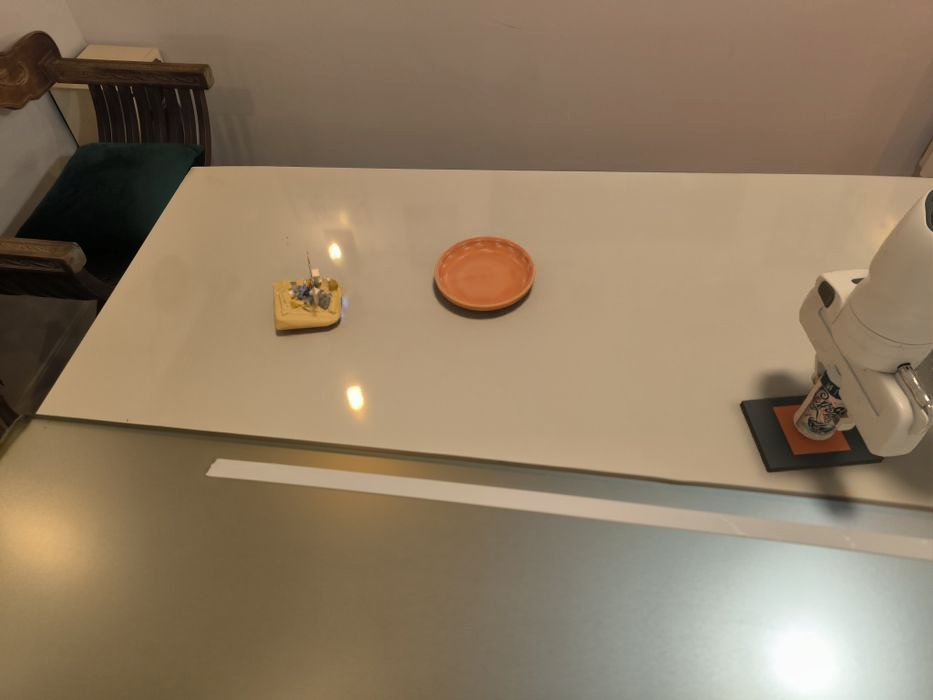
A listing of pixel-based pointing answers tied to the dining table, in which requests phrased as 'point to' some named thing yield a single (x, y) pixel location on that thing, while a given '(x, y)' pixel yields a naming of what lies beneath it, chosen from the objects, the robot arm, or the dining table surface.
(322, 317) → the cake
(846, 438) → the mat
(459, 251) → the saucer
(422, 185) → the dining table surface
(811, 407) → the beer can
